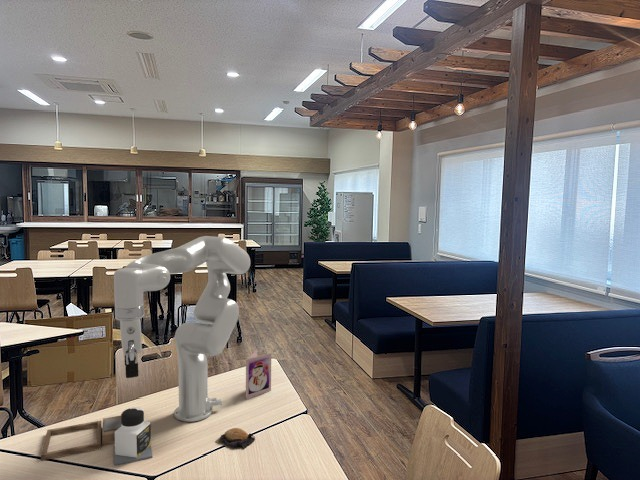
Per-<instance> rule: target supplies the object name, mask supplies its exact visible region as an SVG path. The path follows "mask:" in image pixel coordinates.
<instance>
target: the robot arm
mask: <svg viewBox="0 0 640 480" xmlns="http://www.w3.org/2000/svg"><path fill="white" fill-rule="evenodd" d="M204 263H206V269H207V274H208V279H207V284H206V286H205V288H204V290H203V291H202V294H201V295H200V297H199V299H198V301H197V302H196V304H195V306H194V309H193V313H192V315H193V317H194V319H195V320H196V321H197V322H193V321H188V322H184V323H181V324H180V325H179V326H178V327H177V329H176V330H175V334H174V344H175V349H176V353H177V361H178V364H177V365H178V370H177V371H178V407H176V408H175V409H174V411H173V412H174V413H173V416H174V418H176V420H178V421H181V422H185V423H188V422H189V423H190V422H191V423H193V422H197V421H198V422H199V421H201V420H205V419H207V418H208V417H210V416H211V415H212V413H213V407H214V406H215V407H217V406H222V405H223V402H222V399H221V398H220V399H217V397H212V398H210V397H209V396H208V395H209V393H208V390H209V389H208V387H209V386H208V385H209V384H208V383H209V382H208V369H209V368H208V359H207V356H217V355H219V354H220V353H222V351H223V350H224V349H225V346H226V345H227V343H228V341H229V339H230V337H231V335H232V333H233V331H234V329H235V327H236V324H237V323H238V320H239V315H240V307H239V304H238V303H237V302H236V301H235V300H233V299H231V298H228V297H229V294H230V291H231V283H230V281H229V279H228V276H227V274H229V275H230V274H231V275H232V274H233V275H243V274H246V273H247V272H248V271H249V269H250V267H251V258H250V254H248V252H247V251H246V250H245V249H244V248H242V247H241V246H239V245H238V244H237V243H235V242H234V241H233V240H231V239H229V238H227V237H224V236H211V235H210V236H209V235H204V236H199V237H197V238H195V239H193V240H191V241H189V242H187V243H184V244H182V245H179V246H178V247H176V248H171V249H166V250H163V251H158V252H154V253H150V254H147V255H144V256H142V257H139V258H136V259H135V260H132V261H131V262H129V263H128V264H127V265H126V266H125V267H122V268H119V269H117V270H115V271H114V273H113V292H114V319H115V320H117V321H119V326H120V327H119V329H120V330H119V331H120V332H119V333H120V342H121V348H122V353H123V355H124V366H125V378H126V379H131V378H138V377H139V362H138V354H140V355H141V354H142V353H143V344H142V343H143V342H142V324H141V319H142V318H144V316H145V305H144V293H145V292H157V291H160V290H163V289H165V288H166V287H167V286H168V285H169V283H170V280H171V275H176V274H177V275H178V274H182V273H188V272H190V271H192V270H194V269H196V268H197V267H199V266H202V265H203V264H204ZM198 322H199V323H198ZM206 355H207V356H206Z"/></svg>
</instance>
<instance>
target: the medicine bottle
mask: <svg viewBox="0 0 640 480" xmlns="http://www.w3.org/2000/svg"><path fill="white" fill-rule="evenodd" d="M120 416H121V427H120V428H119V429H117V430H116V431H115V443H114V445H115V455H119V456H127V457H134V458H138V457H139V456H140V455H141V454H142V453H143V452H144V451H145V450H146V449H147V448H148V447H149V446H150V445H151V446H152V440H151V439H152V438H151V437H152V431H151V429H152V427H151V422H149V421H145V410H144V409H143V408H141V407H137V406H136V407H130V408H127V409H124V410H123V411H122V412H121V414H120Z"/></svg>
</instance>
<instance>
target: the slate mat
mask: <svg viewBox="0 0 640 480" xmlns="http://www.w3.org/2000/svg"><path fill="white" fill-rule="evenodd" d="M152 458H154V457H153V450H152V444H151V445H150V446H149V447H148V448H147V449H146V450H145V451H144V452H143V453H142V454H141V455H140V456H139V457H138V458H134V457H127V456H119V455H115V444H114V445H113V466H119V465H123V464H124V465H125V464H127V463H133V462H137V461H141V460H142V461H143V460H146V459H147V460H148V459H152Z"/></svg>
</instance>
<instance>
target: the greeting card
mask: <svg viewBox="0 0 640 480" xmlns="http://www.w3.org/2000/svg"><path fill="white" fill-rule="evenodd" d="M270 391H272V352H270V353H266V354H261V355H258V349H256V350H255V351H254V352H253V353H251V354H250V355H249V356H248V357H247V358H246V359H245V400H247V399H251V398H253V397H256V396H260V395H262V394H265V393H268V392H270Z"/></svg>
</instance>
